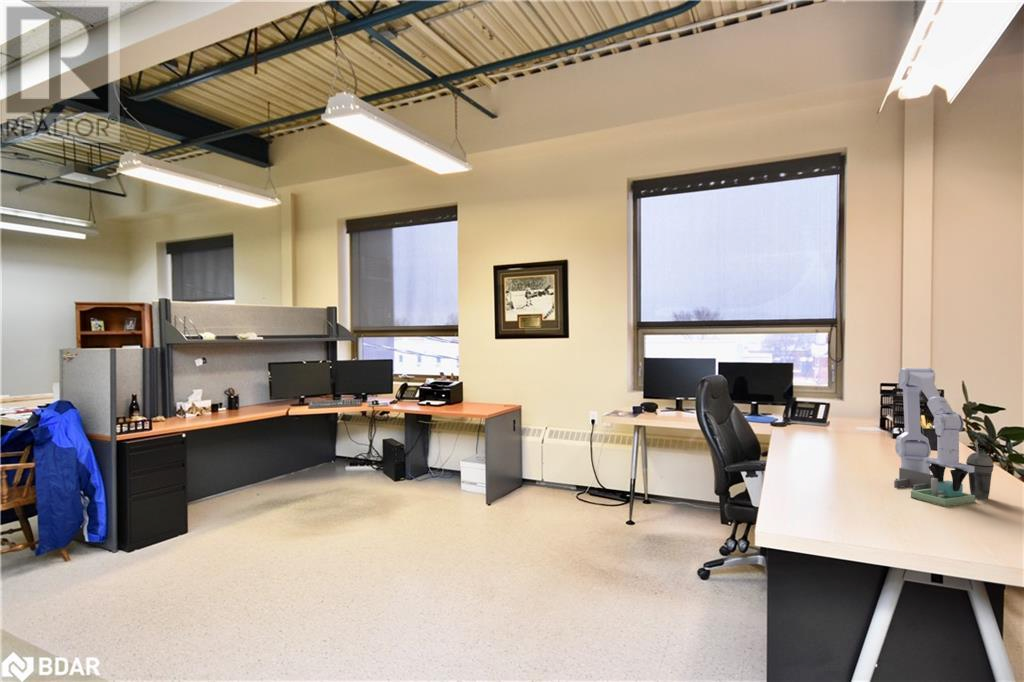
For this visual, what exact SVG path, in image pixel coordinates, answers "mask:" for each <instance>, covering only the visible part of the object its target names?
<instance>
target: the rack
mask: <svg viewBox="0 0 1024 682" xmlns="http://www.w3.org/2000/svg"><path fill="white" fill-rule="evenodd" d="M898 468H899V470H898V471H899V472H898V475H899V476H898V478H899V480H896V479H894V482H893V483H894V484H893V485H894V488H896V487H898V488H902V487H901V486H906V487H911V486H913V487H912V491H915V490H923V489H930V488H931V478H934V476H933V474H932V473H930V474H927V473H923V472H918V471H914V470H909V469H905V468H901V467H898Z"/></svg>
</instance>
